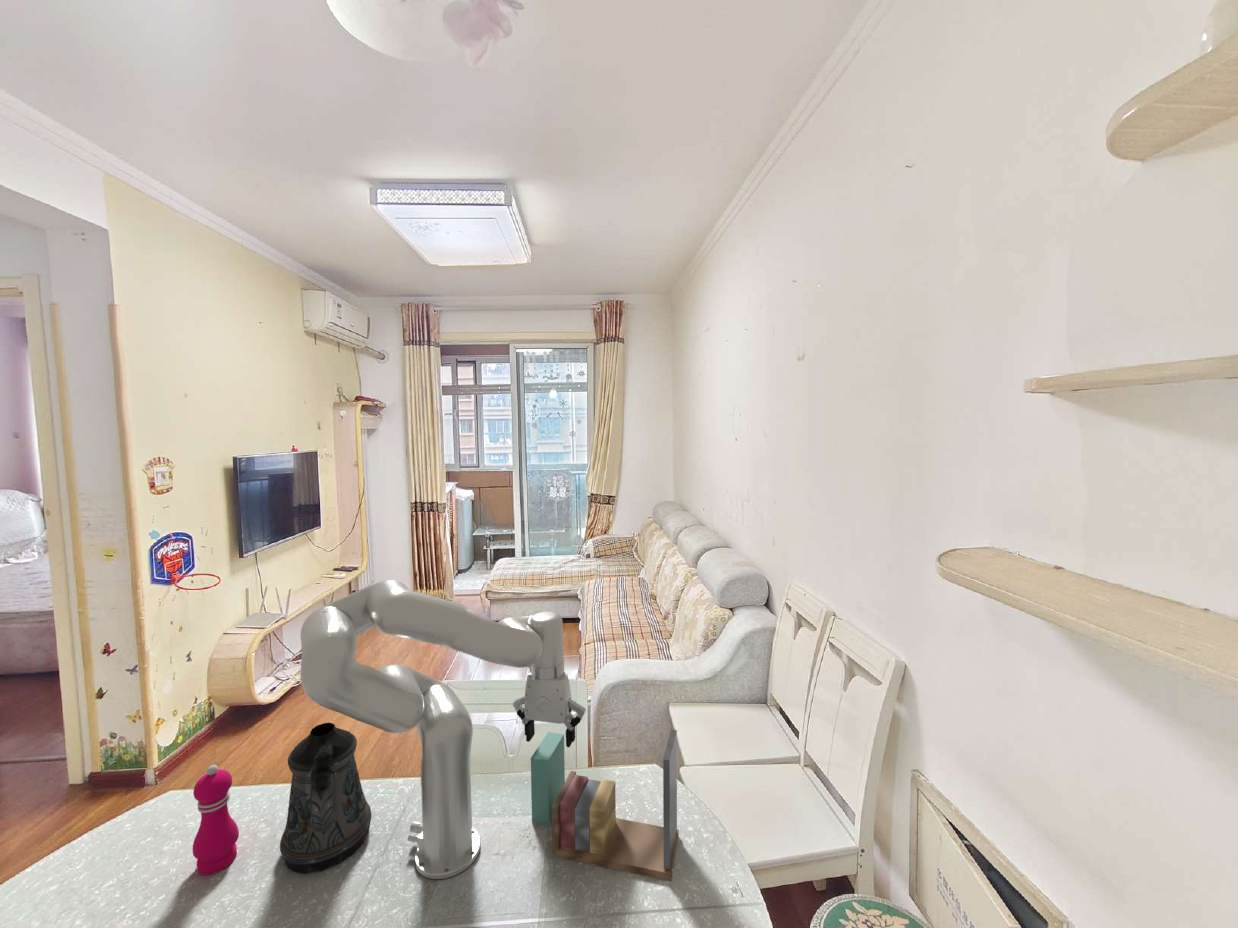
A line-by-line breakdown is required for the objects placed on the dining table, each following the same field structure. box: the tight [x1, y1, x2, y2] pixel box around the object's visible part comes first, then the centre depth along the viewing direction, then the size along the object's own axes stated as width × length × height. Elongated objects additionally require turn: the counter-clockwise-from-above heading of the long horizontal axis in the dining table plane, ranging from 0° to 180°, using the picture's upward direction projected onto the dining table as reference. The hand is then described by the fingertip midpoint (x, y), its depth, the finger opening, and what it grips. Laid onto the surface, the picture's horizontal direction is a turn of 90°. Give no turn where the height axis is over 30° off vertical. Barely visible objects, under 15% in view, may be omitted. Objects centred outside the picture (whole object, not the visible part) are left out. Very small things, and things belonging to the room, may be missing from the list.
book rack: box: [551, 770, 680, 882], centre depth 103 cm, size 24×11×10 cm, turn 76°
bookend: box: [662, 728, 678, 870], centre depth 100 cm, size 1×10×22 cm, turn 166°
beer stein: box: [279, 722, 372, 875], centre depth 104 cm, size 16×19×25 cm
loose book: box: [530, 731, 566, 826], centre depth 115 cm, size 4×10×14 cm, turn 166°
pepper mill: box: [192, 764, 240, 876], centre depth 100 cm, size 7×7×20 cm
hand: (550, 740), depth 114 cm, fingers open, 9 cm apart
